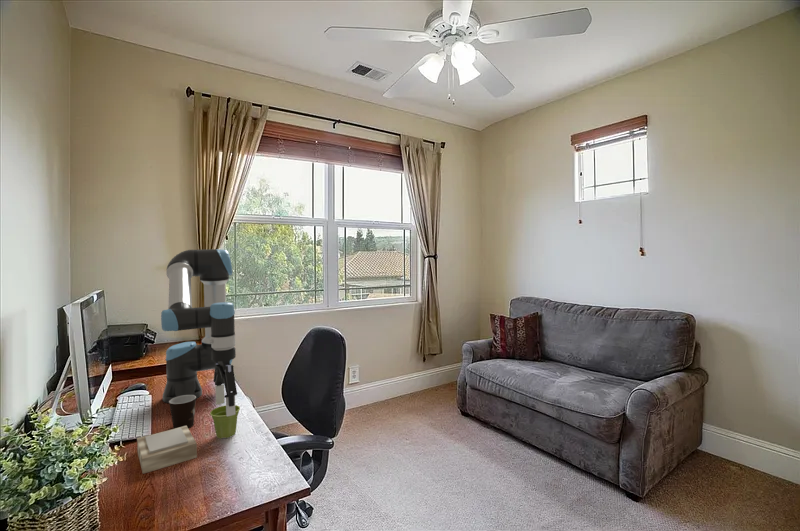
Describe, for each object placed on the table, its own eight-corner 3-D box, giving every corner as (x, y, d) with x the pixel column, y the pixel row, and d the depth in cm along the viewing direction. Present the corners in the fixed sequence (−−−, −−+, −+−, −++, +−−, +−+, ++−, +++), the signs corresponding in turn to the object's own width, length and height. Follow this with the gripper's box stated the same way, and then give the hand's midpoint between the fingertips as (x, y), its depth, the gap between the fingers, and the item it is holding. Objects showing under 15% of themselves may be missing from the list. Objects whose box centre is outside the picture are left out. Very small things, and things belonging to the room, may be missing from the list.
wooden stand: (137, 451, 123) (136, 436, 123) (186, 438, 132) (186, 423, 132) (142, 473, 111) (142, 456, 111) (197, 457, 120) (196, 441, 120)
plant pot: (221, 444, 128) (221, 418, 128) (205, 437, 133) (204, 412, 133) (246, 432, 136) (245, 408, 136) (229, 426, 141) (229, 402, 140)
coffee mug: (185, 432, 136) (184, 404, 136) (164, 430, 138) (163, 403, 138) (207, 418, 148) (207, 392, 147) (188, 417, 149) (187, 391, 149)
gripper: (203, 343, 141) (205, 401, 141) (221, 356, 121) (223, 424, 122) (225, 340, 145) (226, 396, 146) (246, 352, 126) (248, 417, 126)
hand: (225, 409), depth 134 cm, fingers open, 13 cm apart
